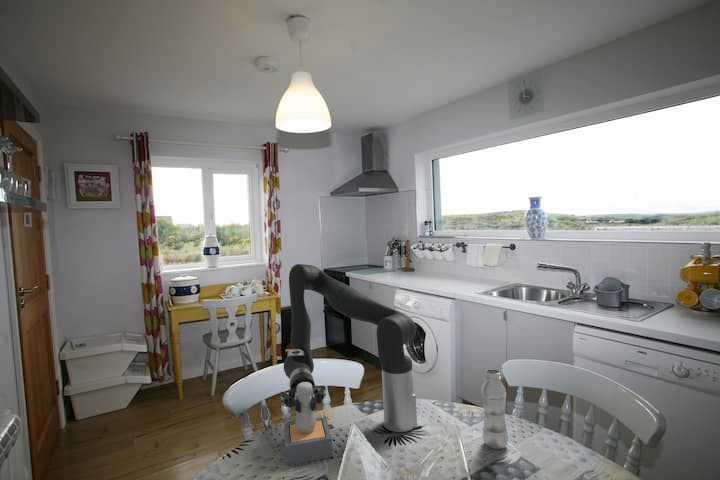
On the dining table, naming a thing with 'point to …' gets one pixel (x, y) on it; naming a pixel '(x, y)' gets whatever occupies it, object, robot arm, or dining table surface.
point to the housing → (308, 446)
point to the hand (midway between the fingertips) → (306, 408)
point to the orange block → (297, 436)
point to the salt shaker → (305, 409)
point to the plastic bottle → (494, 411)
